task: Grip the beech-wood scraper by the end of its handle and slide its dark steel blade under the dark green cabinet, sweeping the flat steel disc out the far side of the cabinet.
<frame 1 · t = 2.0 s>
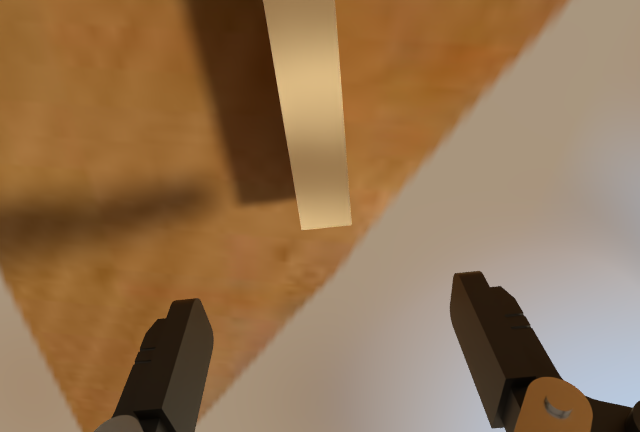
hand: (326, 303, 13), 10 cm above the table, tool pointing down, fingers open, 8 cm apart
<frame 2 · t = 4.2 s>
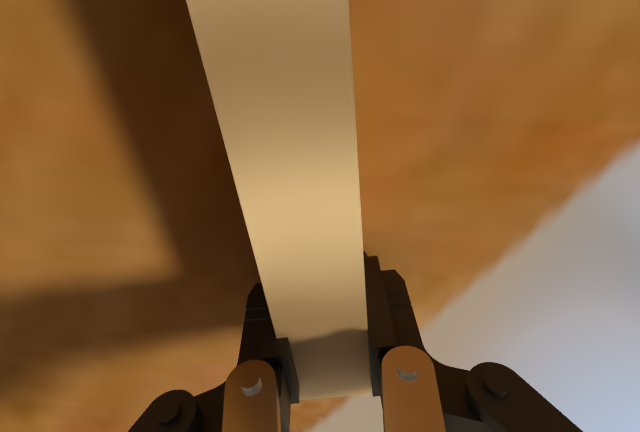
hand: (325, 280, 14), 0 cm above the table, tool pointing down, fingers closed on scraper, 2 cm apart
scraper: (285, 18, 9), on the table, touching gripper
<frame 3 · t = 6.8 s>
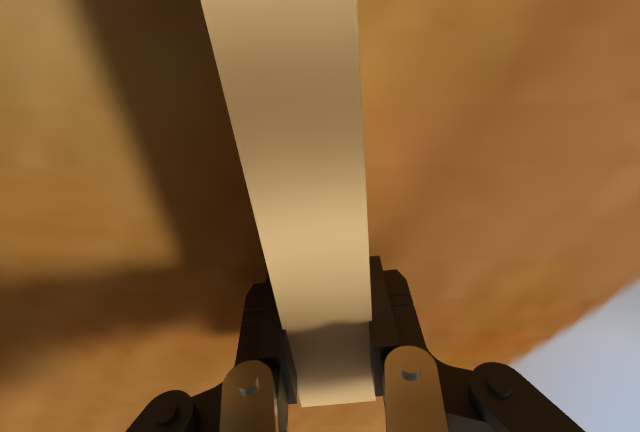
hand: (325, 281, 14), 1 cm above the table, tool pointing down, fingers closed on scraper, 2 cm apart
scraper: (297, 54, 10), on the table, touching gripper
when the fingers open (1 cm above the table, at t = 11.3 s): scraper stays where it is, on the table.
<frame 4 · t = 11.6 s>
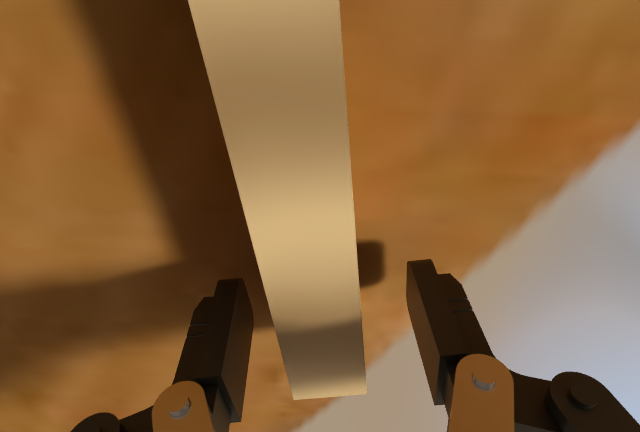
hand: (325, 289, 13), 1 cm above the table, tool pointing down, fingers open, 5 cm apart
scraper: (287, 50, 10), on the table
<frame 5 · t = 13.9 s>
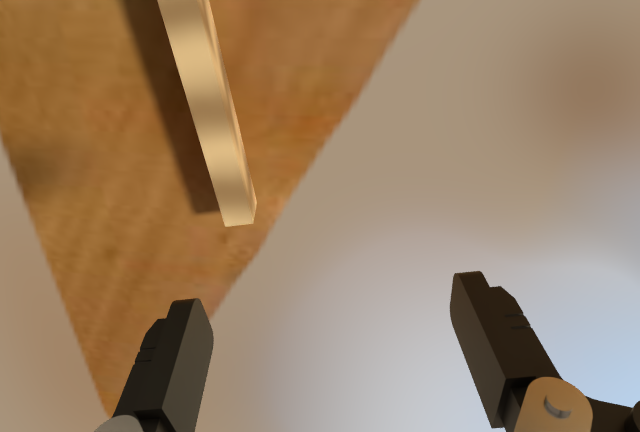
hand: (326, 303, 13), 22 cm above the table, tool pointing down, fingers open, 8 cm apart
scraper: (216, 96, 31), on the table
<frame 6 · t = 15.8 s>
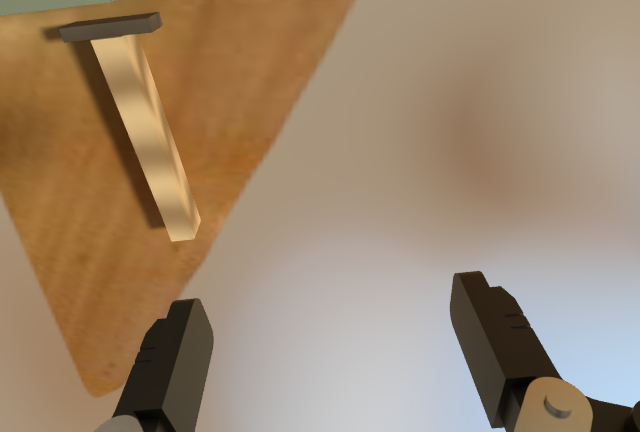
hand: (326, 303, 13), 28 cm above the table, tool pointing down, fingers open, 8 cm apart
scraper: (161, 139, 39), on the table
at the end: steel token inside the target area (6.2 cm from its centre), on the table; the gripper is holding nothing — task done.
